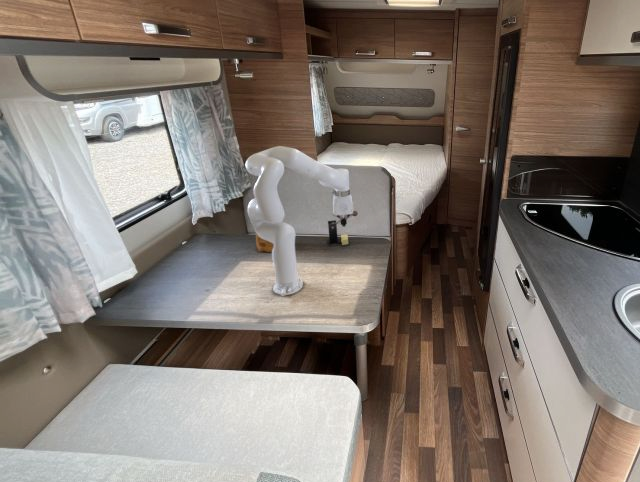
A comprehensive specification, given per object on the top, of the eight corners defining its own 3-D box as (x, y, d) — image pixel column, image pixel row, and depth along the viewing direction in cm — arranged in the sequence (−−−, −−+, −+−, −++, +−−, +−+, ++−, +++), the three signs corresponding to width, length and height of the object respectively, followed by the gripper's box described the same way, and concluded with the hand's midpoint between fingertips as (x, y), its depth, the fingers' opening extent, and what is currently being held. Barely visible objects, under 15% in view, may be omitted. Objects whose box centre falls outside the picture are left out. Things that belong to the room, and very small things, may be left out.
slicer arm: (358, 213, 191) (355, 208, 189) (358, 215, 188) (356, 210, 187) (331, 227, 189) (328, 223, 188) (331, 229, 186) (328, 225, 185)
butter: (348, 245, 188) (348, 239, 187) (342, 246, 187) (341, 240, 186) (347, 240, 195) (347, 233, 193) (341, 240, 194) (340, 234, 192)
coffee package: (262, 243, 189) (256, 207, 181) (284, 243, 189) (279, 207, 181) (254, 252, 179) (248, 215, 171) (278, 252, 180) (272, 215, 172)
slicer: (337, 239, 194) (336, 219, 190) (338, 244, 189) (337, 224, 185) (328, 240, 193) (327, 220, 189) (329, 245, 188) (327, 225, 183)
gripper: (327, 196, 165) (329, 229, 172) (357, 194, 170) (358, 227, 176) (326, 191, 172) (328, 224, 178) (356, 189, 176) (357, 221, 182)
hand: (343, 225), depth 177 cm, fingers closed
